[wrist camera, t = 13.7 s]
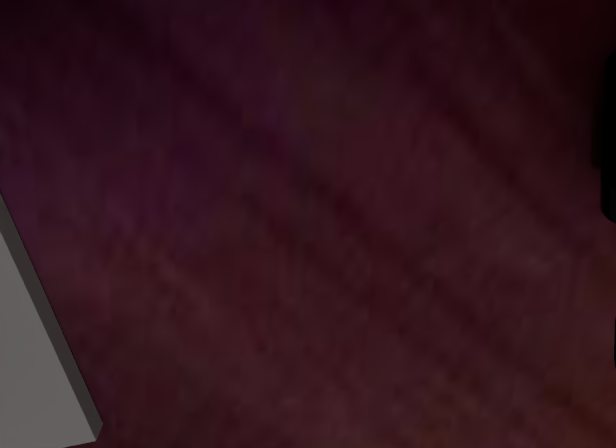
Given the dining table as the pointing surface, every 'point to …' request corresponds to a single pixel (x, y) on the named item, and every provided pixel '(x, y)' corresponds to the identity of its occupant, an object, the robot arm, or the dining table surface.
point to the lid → (36, 360)
